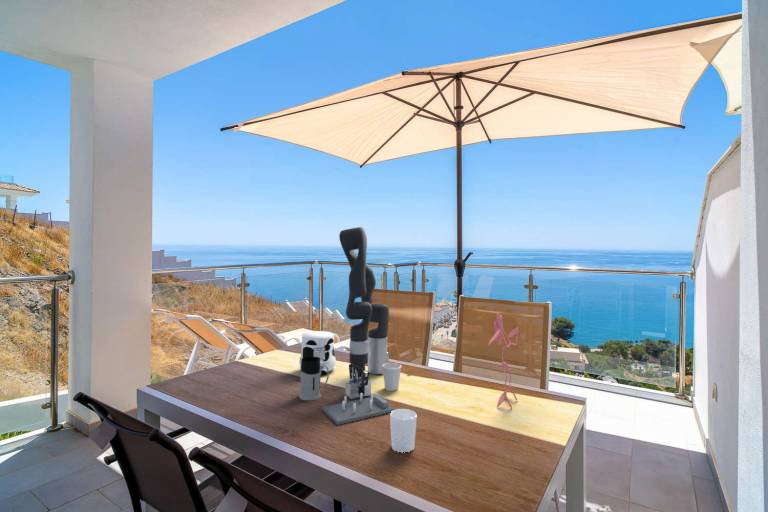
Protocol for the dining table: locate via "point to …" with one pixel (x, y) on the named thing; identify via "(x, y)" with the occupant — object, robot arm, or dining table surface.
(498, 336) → the figurine
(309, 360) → the white and black mug
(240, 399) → the dining table surface
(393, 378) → the dixie cup
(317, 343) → the milk container
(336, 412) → the grey tapered peg board
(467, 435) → the dining table surface
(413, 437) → the white cup
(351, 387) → the block
